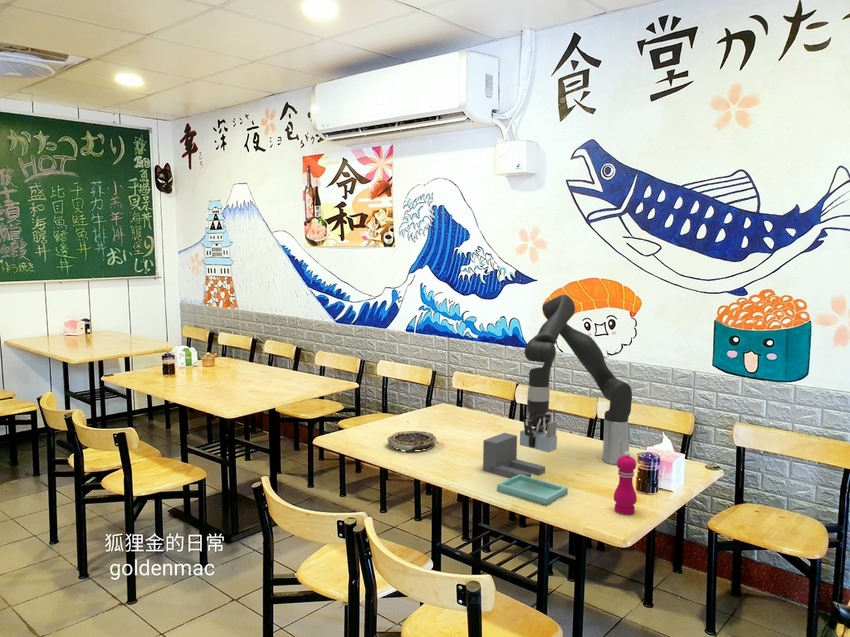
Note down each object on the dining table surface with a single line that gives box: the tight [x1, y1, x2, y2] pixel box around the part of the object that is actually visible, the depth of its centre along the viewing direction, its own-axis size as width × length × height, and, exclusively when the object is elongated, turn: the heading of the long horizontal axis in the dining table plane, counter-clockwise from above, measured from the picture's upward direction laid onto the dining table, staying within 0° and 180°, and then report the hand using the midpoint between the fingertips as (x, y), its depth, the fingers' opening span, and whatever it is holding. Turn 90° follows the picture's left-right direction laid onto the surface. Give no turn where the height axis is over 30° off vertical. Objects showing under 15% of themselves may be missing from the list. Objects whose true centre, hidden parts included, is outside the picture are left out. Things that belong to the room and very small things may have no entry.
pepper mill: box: [613, 451, 638, 515], centre depth 214 cm, size 7×7×20 cm
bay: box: [482, 432, 546, 479], centre depth 251 cm, size 19×14×12 cm
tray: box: [496, 474, 569, 507], centre depth 230 cm, size 20×14×2 cm
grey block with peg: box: [519, 420, 558, 453], centre depth 231 cm, size 12×5×10 cm, turn 48°
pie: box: [387, 430, 438, 451], centre depth 283 cm, size 28×27×5 cm
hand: (536, 445), depth 232 cm, fingers closed on grey block with peg, 5 cm apart
